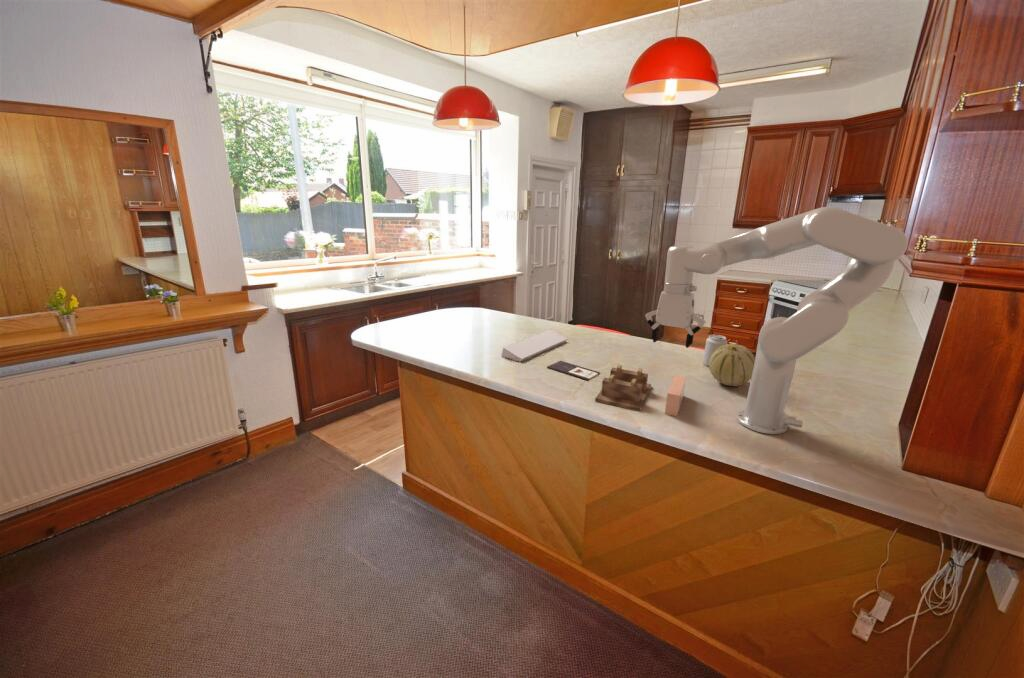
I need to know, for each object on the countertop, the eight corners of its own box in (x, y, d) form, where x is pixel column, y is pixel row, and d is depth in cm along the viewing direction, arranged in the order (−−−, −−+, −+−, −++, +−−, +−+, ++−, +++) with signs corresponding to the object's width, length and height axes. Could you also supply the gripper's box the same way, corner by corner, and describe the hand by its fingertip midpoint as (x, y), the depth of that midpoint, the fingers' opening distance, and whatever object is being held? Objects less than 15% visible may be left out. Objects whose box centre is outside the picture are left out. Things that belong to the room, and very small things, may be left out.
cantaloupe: (747, 378, 152) (755, 339, 147) (756, 395, 139) (765, 353, 134) (703, 373, 156) (709, 335, 151) (708, 389, 143) (715, 348, 138)
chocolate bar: (560, 360, 167) (599, 372, 155) (560, 362, 167) (599, 374, 156) (547, 366, 160) (586, 379, 149) (546, 368, 161) (586, 381, 149)
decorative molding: (564, 347, 193) (547, 338, 198) (567, 338, 190) (550, 329, 195) (518, 368, 167) (500, 357, 172) (521, 359, 165) (503, 347, 170)
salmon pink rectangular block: (683, 396, 138) (686, 376, 136) (676, 416, 125) (680, 395, 122) (672, 393, 140) (674, 374, 137) (664, 414, 126) (667, 393, 124)
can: (718, 370, 159) (723, 340, 156) (699, 364, 165) (703, 336, 161) (726, 365, 164) (731, 336, 160) (707, 360, 169) (712, 332, 166)
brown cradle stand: (651, 386, 144) (653, 366, 142) (639, 410, 128) (641, 388, 125) (611, 379, 151) (612, 359, 148) (595, 401, 134) (596, 379, 131)
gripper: (711, 289, 120) (704, 345, 125) (652, 284, 130) (647, 336, 135) (706, 293, 114) (698, 352, 119) (644, 287, 124) (639, 342, 129)
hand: (671, 343), depth 127 cm, fingers open, 9 cm apart
